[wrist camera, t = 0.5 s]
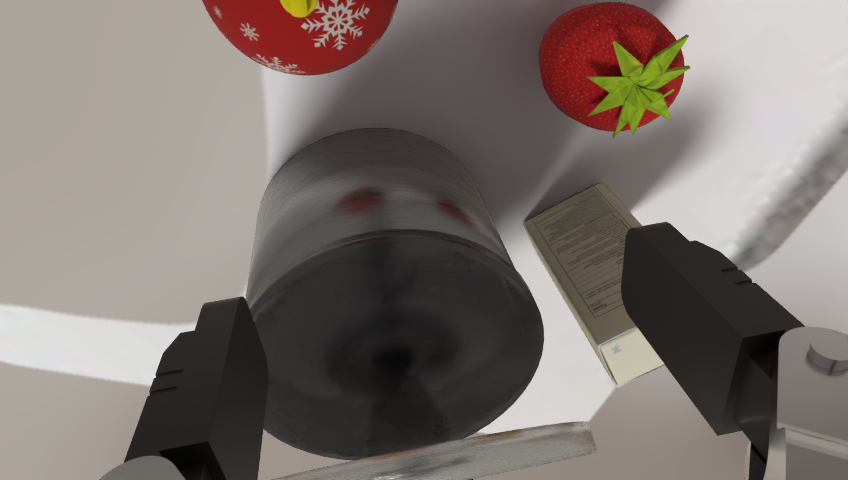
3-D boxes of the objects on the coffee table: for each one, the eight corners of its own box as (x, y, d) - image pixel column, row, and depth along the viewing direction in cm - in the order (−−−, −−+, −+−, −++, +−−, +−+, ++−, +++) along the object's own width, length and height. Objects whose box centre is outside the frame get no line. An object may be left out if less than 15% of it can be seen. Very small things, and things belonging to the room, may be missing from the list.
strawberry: (543, -44, 29) (631, 0, 21) (651, 15, 32) (765, 73, 24) (489, 61, 32) (549, 135, 24) (593, 107, 35) (677, 187, 27)
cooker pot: (222, 146, 32) (183, 277, 23) (481, 106, 33) (550, 214, 24) (286, 333, 41) (277, 483, 32) (488, 296, 42) (539, 430, 33)
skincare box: (540, 261, 41) (611, 393, 32) (520, 220, 39) (591, 349, 29) (621, 222, 40) (720, 345, 31) (606, 177, 38) (709, 295, 28)
